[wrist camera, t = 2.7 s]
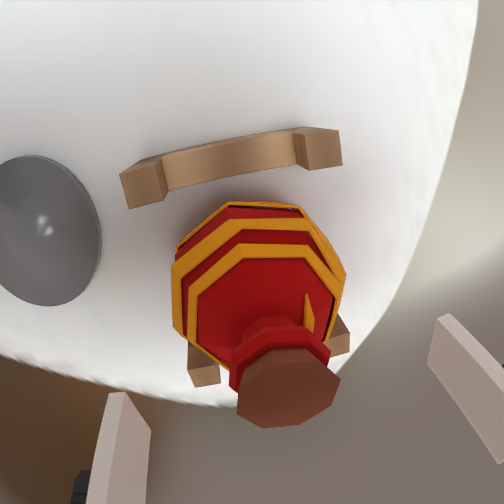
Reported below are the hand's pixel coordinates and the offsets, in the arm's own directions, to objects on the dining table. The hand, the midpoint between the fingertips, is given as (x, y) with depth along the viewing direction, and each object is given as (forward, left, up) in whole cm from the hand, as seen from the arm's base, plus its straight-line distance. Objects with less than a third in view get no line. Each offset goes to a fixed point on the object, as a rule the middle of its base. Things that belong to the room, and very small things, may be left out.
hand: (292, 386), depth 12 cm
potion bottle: (0, 0, -15) cm, 15 cm away
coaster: (-17, +5, -14) cm, 23 cm away
